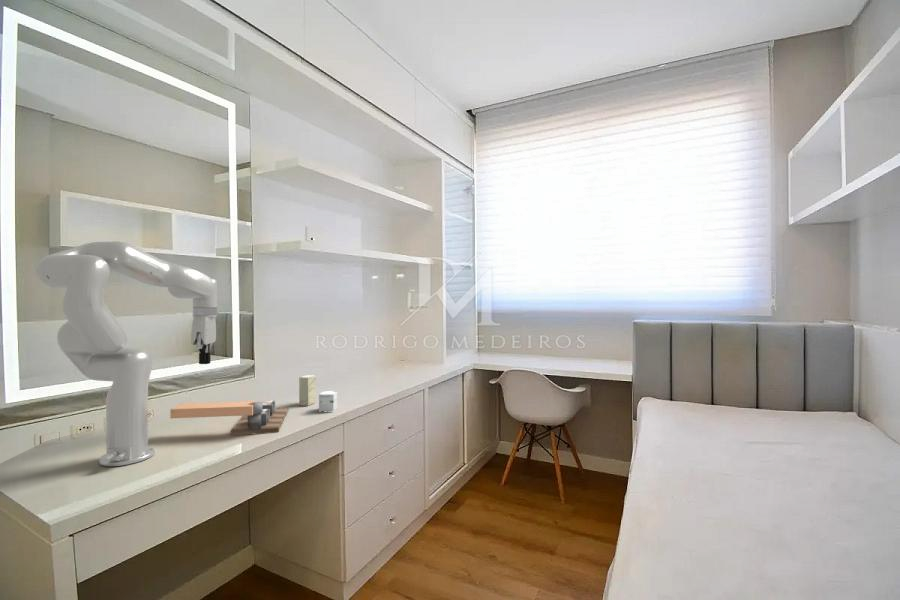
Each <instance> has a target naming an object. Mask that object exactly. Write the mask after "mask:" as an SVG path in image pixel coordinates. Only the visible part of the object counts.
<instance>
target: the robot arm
mask: <svg viewBox="0 0 900 600" xmlns="http://www.w3.org/2000/svg"><path fill="white" fill-rule="evenodd" d="M111 272H114V273H118V274H121V275H123V276H126V277H128V278H131V279H134V280H137V281H138V282H141V283H143V284H145V285H149V286H153V287H161V288H167V291H168V292H169V294H170V295H171V296H173V297H174V298H177V299H185V300H186V299H192V318H193V319H192V323H191V334H190V335H191V336H190V337H191V338H190V343H191V345H193V346H195V345H196V349H197V350H198V364H199V365H209V364H211V358H212V357H211V352H212V346H213V345H214V343H215V342H216V340H217V323H216V322H217V321H216V317H218V281H217V280H216V279H214V278H211V277H209V276H208V274H205V273H203V272H201V271H199V270H196V269H194V268H191V267H188V266H184V265H180V264H177V263H174V262H172V261H171V262H170V261H167V260H163V259H160V258H159V257H157V256H154V255H152V254H151V253H148V252H147V251H144V250H142V249H140V248H138V247H136V246H134V245H132V244H130V243H128V242H125V241H120V240H119V241H117V240H116V241H115V240H113V241H92V242H89V243H84V244H82V245H81V244H80V245H77V246H73V247H72V248H68V249H65V250H61V251H58V252H55V253H52V254H48V255H46V256H44V257H42V259H41V258H40V260H39V261H38V262H37V264H36V267H35V275H36V277H37V279H38V280H39V282H41V283H42V284H44V285H46V286H48V287H51V288H59V289H63V288H65V289H66V290H65V292H64V295H63V298H62V303H61V305H62V306H61V309H62V314H63V315H64V317H65V318H66V320H67V321H66V322H65V323H64V324H62V325H61V326H60V328H59V329H58V331H57V337H56V340H57V344H58V346H59V348H60V350H61V351H62V352H63V354H64V355H65V356H66V357H67V358H68V359H69V361H70V362H71V363H72V364H73V365H74V367H76V368H77V370H78V371H79V372H80V373H81V374H82V375H83V376H85V378H88V379H89V380H92V381H97V382H98V381H101V382H112V384H111V386H110V388H109V389H108V392H107V395H106V397H105V413H106V414H105V421H106V422H105V424H106V425H105V429H106V430H105V431H106V432H105V435H106V437H105V438H106V439H105V440H106V441H105V444H106V449H105V450H106V453H105V454H104V455H102V456H101V457H99V460H98V463H99V464H98V465H100V466H103V467H119V466H126V465H132V464H136V463H139V462H142V461H145V460H147V459H149V458H151V457H153V456H154V455H155V451H156V449H155V448H154V447H152V446H150V445H149V384H150V383H149V382H150V376H151V373H152V369H153V368H152V367H153V360H152V357H151V356H150V354H149V353H148V352H146V351H144V350H142V349H140V348H139V349H138V348H134V347H131V348H130V347H125V346H126V344H127V342H128V336H127V333H126V331H125V329H124V328H123V326H122V325H121V324H120V322H119V321H118V320H117V318H116V317H115V316H114V314H113V312H111V311H112V310H110V308H109V307H108V305H107V304H106V302H105V299H104V293H105V288H106V285H107V283H108V282H109V278H110V273H111Z"/></svg>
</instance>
